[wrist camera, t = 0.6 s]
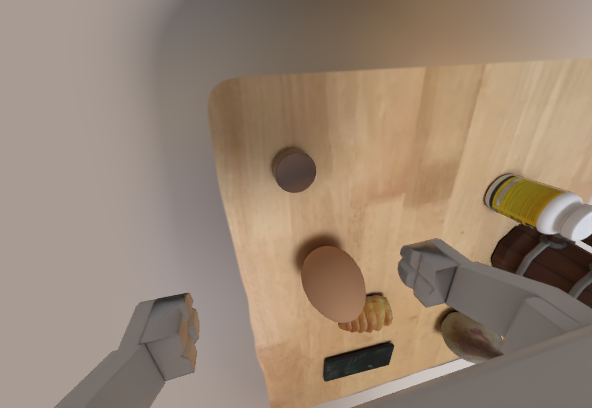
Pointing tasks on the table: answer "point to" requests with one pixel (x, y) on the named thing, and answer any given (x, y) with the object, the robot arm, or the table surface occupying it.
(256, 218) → the table surface
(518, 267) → the mug
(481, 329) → the fruit
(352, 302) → the egg
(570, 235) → the pill bottle
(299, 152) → the brown bottle cap
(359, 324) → the pastry
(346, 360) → the smartphone
